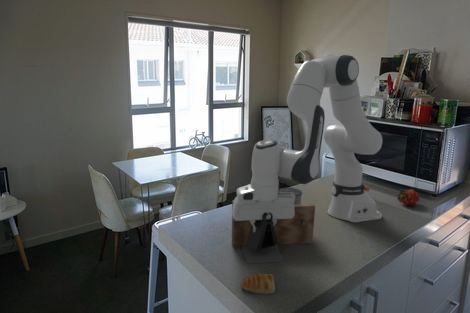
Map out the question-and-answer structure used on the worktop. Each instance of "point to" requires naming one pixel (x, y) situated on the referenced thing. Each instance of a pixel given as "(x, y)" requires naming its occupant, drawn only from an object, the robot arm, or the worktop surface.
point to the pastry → (259, 284)
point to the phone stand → (262, 234)
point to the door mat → (262, 255)
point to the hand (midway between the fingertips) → (262, 231)
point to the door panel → (281, 227)
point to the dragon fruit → (408, 197)
